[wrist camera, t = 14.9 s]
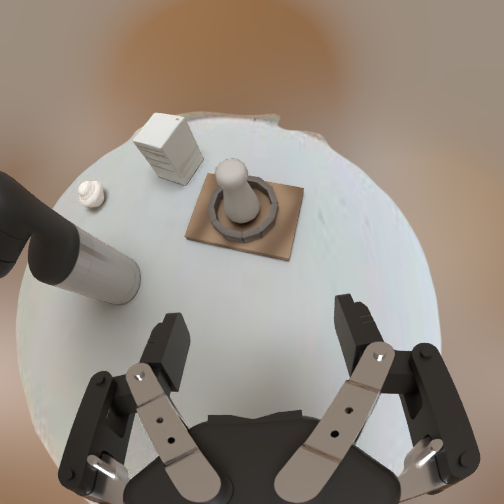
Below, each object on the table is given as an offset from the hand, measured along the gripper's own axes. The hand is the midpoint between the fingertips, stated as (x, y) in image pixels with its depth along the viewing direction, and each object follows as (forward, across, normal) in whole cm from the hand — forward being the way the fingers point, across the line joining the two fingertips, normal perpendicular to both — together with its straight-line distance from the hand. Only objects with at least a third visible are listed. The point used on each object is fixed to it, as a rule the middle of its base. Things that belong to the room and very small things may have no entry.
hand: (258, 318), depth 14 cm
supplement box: (+44, +15, -3) cm, 46 cm away
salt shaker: (+33, +3, +5) cm, 34 cm away
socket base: (+34, +3, +6) cm, 35 cm away
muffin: (+41, +36, -1) cm, 55 cm away
